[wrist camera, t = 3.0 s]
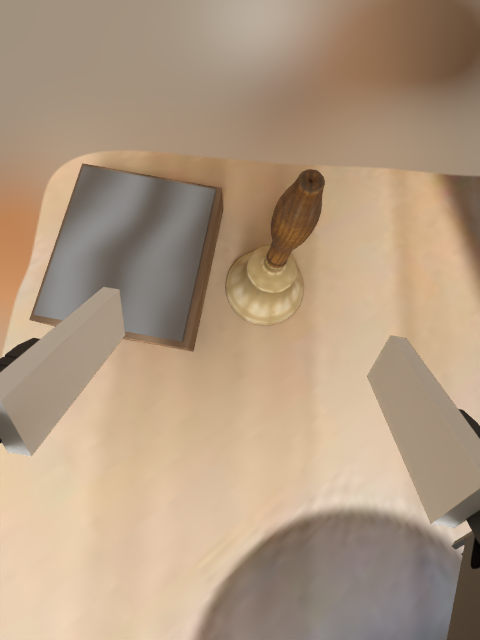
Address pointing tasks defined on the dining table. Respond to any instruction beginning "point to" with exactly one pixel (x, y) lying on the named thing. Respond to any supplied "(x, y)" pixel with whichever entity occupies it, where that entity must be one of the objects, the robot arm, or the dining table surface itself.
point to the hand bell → (277, 257)
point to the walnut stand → (135, 253)
